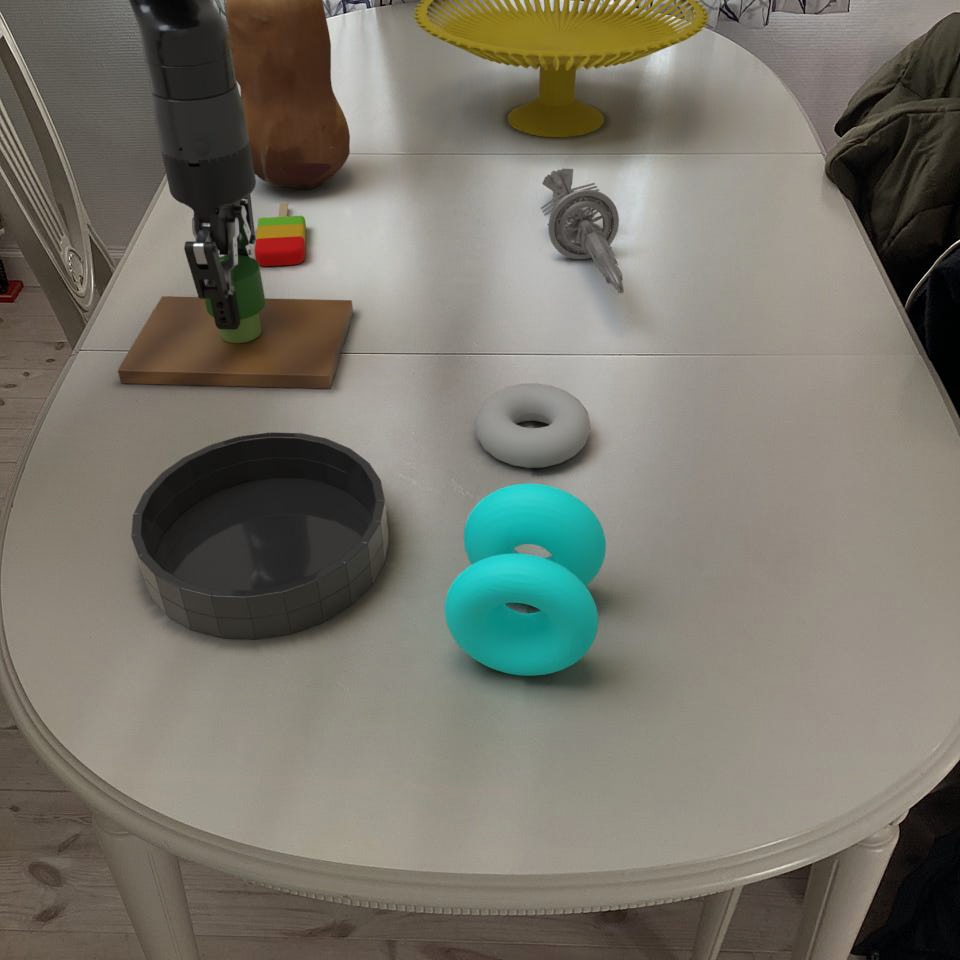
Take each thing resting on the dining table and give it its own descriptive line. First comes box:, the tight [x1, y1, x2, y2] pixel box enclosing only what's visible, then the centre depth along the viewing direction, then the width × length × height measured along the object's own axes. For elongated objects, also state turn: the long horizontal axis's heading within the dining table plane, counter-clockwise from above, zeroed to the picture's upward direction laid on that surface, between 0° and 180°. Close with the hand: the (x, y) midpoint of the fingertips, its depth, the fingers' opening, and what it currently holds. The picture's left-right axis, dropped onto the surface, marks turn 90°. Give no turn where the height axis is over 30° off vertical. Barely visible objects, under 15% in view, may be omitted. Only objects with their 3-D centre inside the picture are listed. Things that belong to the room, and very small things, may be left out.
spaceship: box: [540, 168, 624, 295], centre depth 112 cm, size 8×35×8 cm
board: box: [117, 295, 354, 390], centre depth 100 cm, size 20×14×2 cm
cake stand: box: [412, 0, 711, 138], centre depth 143 cm, size 40×40×15 cm
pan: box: [130, 432, 390, 640], centre depth 77 cm, size 18×18×4 cm
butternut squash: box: [225, 0, 351, 191], centre depth 123 cm, size 14×13×25 cm
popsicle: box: [254, 201, 307, 267], centre depth 119 cm, size 6×15×2 cm, turn 7°
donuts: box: [444, 483, 607, 677], centre depth 69 cm, size 10×10×10 cm
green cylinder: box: [205, 255, 266, 343], centre depth 98 cm, size 6×6×7 cm
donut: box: [474, 382, 592, 469], centre depth 88 cm, size 10×4×10 cm
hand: (236, 310), depth 98 cm, fingers closed on green cylinder, 5 cm apart
